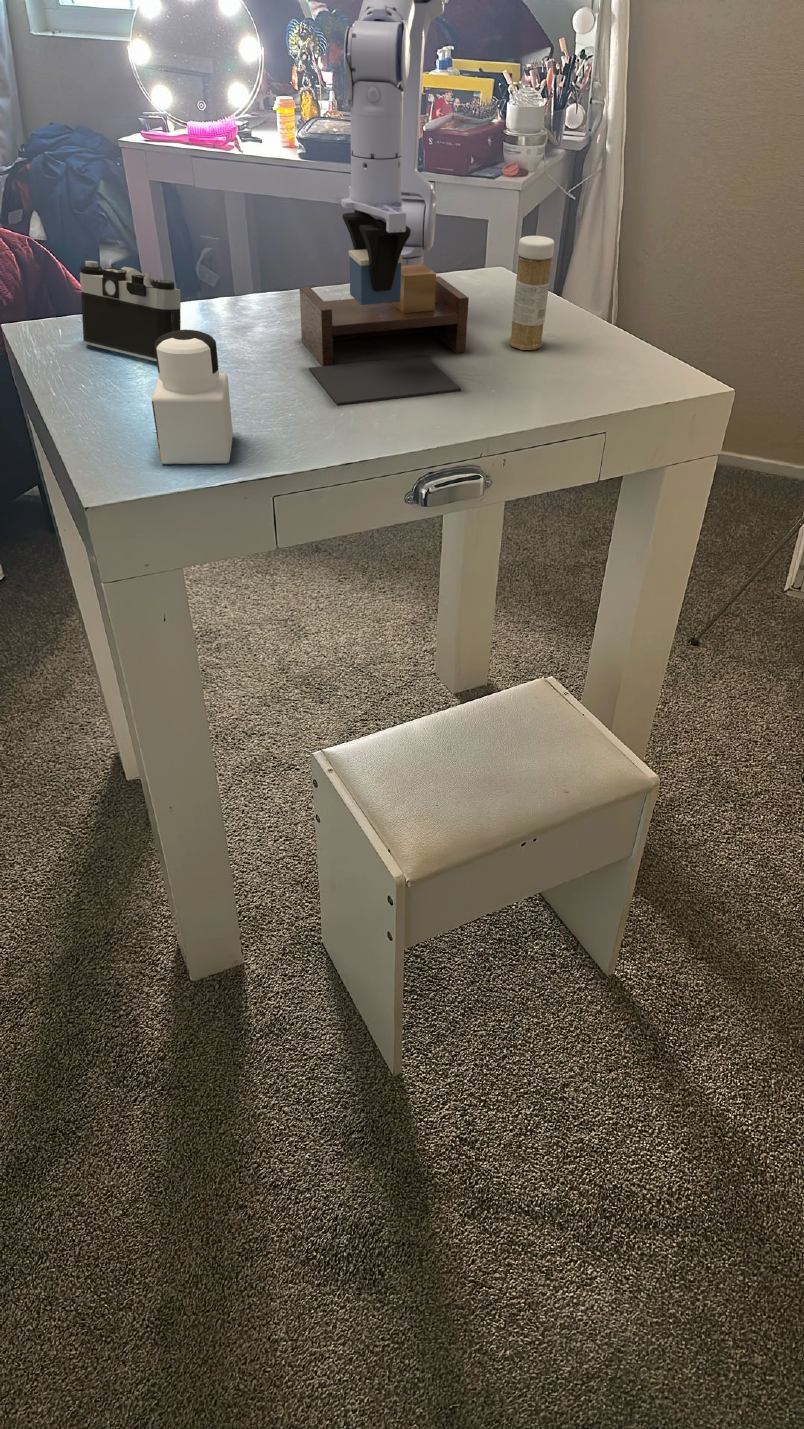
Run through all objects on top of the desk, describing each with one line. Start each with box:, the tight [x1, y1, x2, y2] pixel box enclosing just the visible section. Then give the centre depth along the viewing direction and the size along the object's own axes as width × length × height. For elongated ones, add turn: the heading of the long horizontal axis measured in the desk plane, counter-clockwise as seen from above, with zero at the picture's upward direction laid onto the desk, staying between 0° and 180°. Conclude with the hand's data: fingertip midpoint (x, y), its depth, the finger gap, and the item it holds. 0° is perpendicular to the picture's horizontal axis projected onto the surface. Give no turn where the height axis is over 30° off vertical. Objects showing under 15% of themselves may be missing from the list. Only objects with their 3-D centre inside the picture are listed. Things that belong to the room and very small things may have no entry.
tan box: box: [392, 263, 437, 313], centre depth 122 cm, size 4×4×5 cm
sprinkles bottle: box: [509, 235, 555, 351], centre depth 124 cm, size 5×5×13 cm
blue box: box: [348, 249, 402, 305], centre depth 112 cm, size 5×5×5 cm
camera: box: [79, 260, 182, 362], centre depth 121 cm, size 15×11×10 cm
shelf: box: [299, 276, 470, 366], centre depth 124 cm, size 10×20×7 cm, turn 111°
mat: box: [308, 355, 462, 406], centre depth 117 cm, size 12×16×1 cm
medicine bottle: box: [151, 329, 234, 465], centre depth 96 cm, size 7×7×12 cm
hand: (375, 284), depth 113 cm, fingers closed on blue box, 4 cm apart
